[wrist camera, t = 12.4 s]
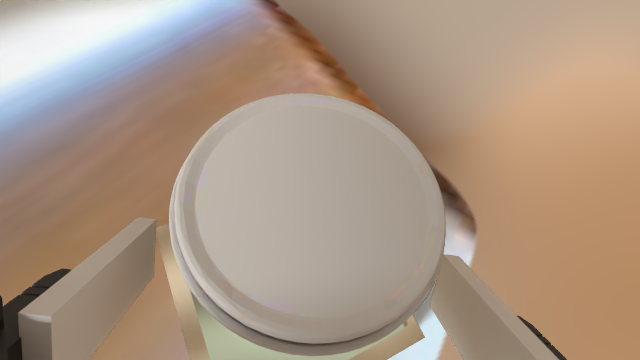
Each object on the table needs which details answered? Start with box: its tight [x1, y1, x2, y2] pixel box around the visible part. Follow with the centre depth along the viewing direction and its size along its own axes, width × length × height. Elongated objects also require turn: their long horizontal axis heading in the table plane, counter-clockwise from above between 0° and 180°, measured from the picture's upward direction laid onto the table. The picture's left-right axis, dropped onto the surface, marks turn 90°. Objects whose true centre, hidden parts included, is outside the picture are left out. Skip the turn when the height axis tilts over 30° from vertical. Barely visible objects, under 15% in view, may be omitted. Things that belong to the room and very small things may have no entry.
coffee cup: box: [169, 93, 446, 356], centre depth 16 cm, size 9×9×12 cm
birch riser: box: [156, 223, 425, 360], centre depth 23 cm, size 13×13×4 cm
